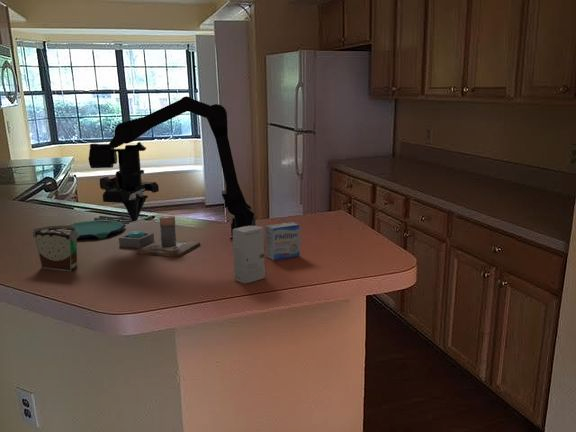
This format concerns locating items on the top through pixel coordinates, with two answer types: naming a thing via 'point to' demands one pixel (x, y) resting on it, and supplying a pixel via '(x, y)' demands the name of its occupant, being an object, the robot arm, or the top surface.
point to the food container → (57, 247)
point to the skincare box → (248, 253)
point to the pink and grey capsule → (168, 231)
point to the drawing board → (169, 248)
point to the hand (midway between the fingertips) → (134, 221)
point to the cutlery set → (100, 226)
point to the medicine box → (282, 241)
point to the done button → (136, 234)
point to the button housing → (136, 241)
